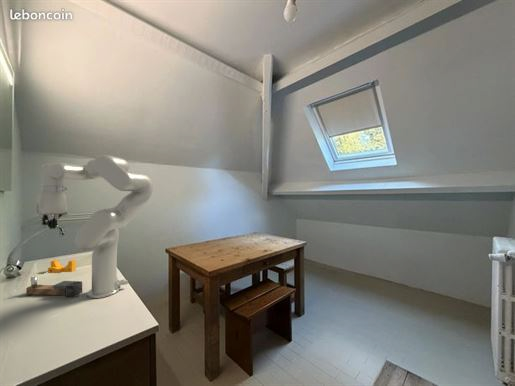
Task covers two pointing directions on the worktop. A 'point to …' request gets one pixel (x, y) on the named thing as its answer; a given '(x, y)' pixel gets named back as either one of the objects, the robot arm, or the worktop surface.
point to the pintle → (33, 281)
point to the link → (44, 290)
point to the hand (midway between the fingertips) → (52, 228)
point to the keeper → (70, 287)
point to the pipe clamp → (62, 267)
